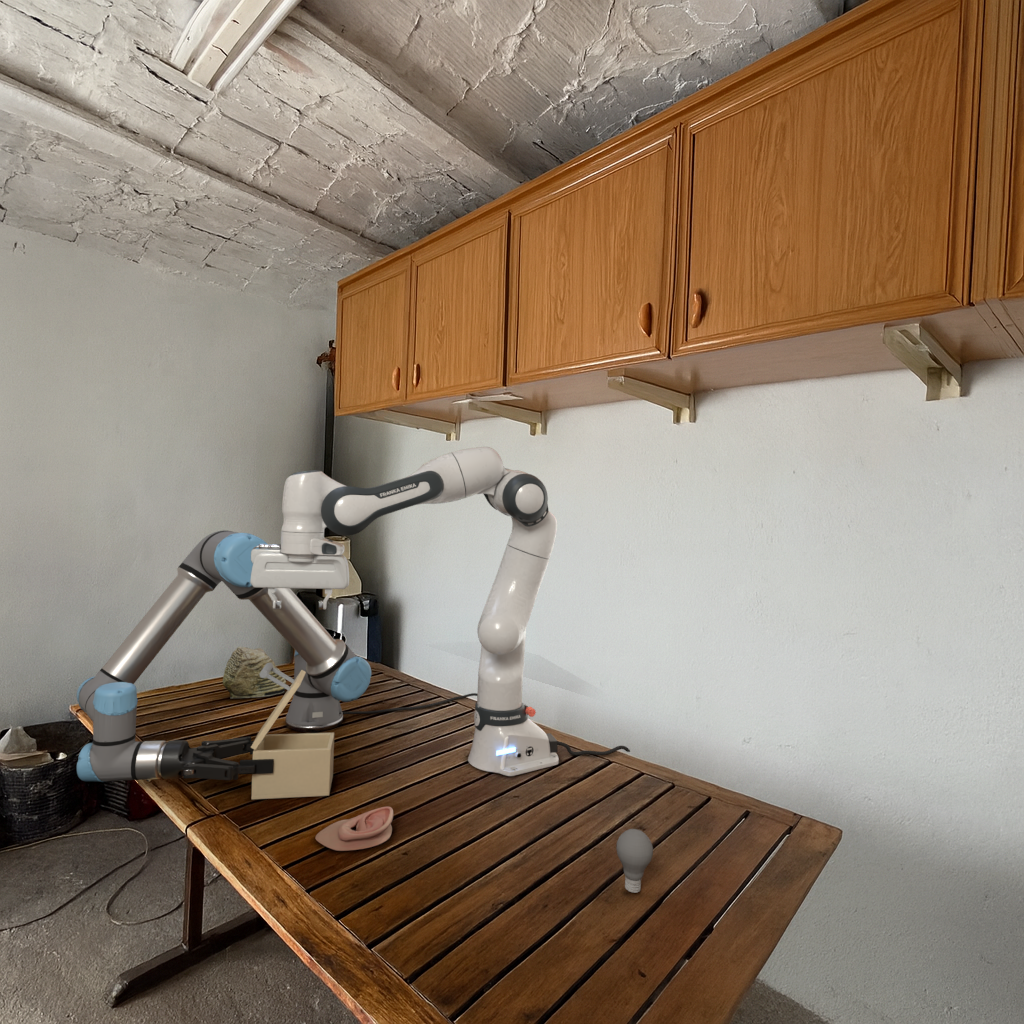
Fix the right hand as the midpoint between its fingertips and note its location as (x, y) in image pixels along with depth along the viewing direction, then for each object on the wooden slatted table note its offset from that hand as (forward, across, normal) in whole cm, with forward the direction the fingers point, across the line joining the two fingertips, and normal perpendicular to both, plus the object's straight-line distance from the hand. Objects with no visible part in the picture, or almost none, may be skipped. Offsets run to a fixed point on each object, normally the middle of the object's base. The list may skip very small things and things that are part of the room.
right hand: (299, 608), depth 137 cm
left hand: (+32, -4, 0) cm, 32 cm away
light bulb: (+39, +60, -44) cm, 84 cm away
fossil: (+39, -21, +66) cm, 79 cm away
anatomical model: (+39, +14, -22) cm, 47 cm away
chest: (+39, 0, 0) cm, 39 cm away
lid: (+22, -3, 0) cm, 22 cm away
